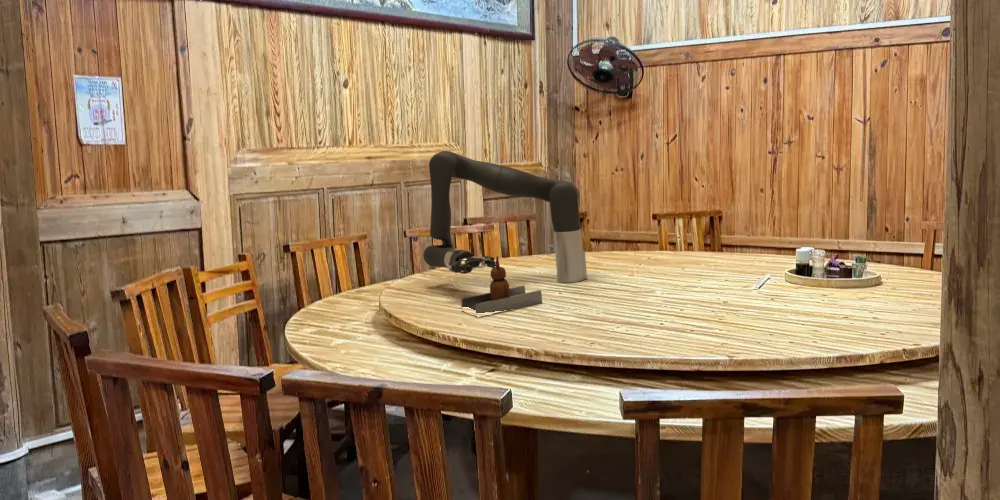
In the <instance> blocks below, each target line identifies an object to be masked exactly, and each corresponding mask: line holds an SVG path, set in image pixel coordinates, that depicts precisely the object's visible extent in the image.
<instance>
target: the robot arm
mask: <svg viewBox="0 0 1000 500" xmlns="http://www.w3.org/2000/svg"><path fill="white" fill-rule="evenodd" d="M428 170H429V178H430V188H431V190H430V191H431V209H430V210H431V211H430V226H429V235H430V238H432V239H434V240H438V241H441V244H437V245H434V244H432V245H428V246H427V247H425V249H424V251H423V255H422V256H423V261H425V263H426V264H427V265H428V266H430V267H439V268H445V269H448V270H449V271H450V272H453V273H456V274H457V273H460V274H463V275H464V274H469V273H470V274H471V273H472V271H473V270H476V269H484V268H485V267H488V268H490V269H492V268H494V267H496V260H495V257H493V256H488V255H482V256H475V255H474V254H473V252H471V251H469V250H465V249H461V248H454V247H453V243H452V236H451V226H452V209H451V208H452V207H451V202H450V199H451V198H450V191H451V183H452V178H455V179H459V180H464V181H465V180H466V181H469V182H471V183H475V184H476V185H478V186H481V187H482V188H484V189H487V190H489V191H491V192H495V193H498V194H502V195H506V196H512V197H520V198H533V199H536V200H541V201H545V202H547V203H549V208H550V217H551V224H552V230H553V243H554V253H555V254H554V255H555V263H556V265H555V266H556V277H557V278H556V279H557V282H559V283H577V282H580V281H583V280H585V279H588V272H587V257H586V251H585V250H584V249H583V241H582V228H581V220H580V219H581V218H580V210H579V198H580V196H579V195H580V194H579V189H578V188H577V186H576V185H575V184H574V183H572V182H570V181H568V180H567V181H566V180H559V179H552V178H546V177H541V176H537V175H535V174H531V173H530V172H526V171H523V170H519V169H517V168H513V167H510V166H506V165H501V164H496V163H492V162H486V161H481V160H480V161H479V160H476V159H473V158H469V157H467V156H463V155H460V154H458V153H455V152H453V151H450V150H442V151H439V152H438V153H435V154H433V155H432V157H431V158H430V160H429V163H428Z"/></svg>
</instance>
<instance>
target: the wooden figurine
mask: <svg viewBox="0 0 1000 500" xmlns="http://www.w3.org/2000/svg"><path fill="white" fill-rule="evenodd" d="M495 258H496V259H495V265H496V266H495V267H494V268H490V278H491V279H492V280H491V282H490V286H489V293H490V295H491V298H492V300H496V299H501V298H506V297H509V296H510V288H511V287H510V283H509V281H508V280H507V279H506V277H507V273H506V269H505V268H504V267H502V266H500V261H499V260H500V259H499V256H496V257H495Z"/></svg>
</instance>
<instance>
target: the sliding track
mask: <svg viewBox="0 0 1000 500" xmlns="http://www.w3.org/2000/svg"><path fill="white" fill-rule="evenodd" d="M509 288H510V296H509V297H506V298H501V299H496V300H492V298H491V295H490V292H486V293H481V294H476V295H471V296H467V297H466V296H465V297H462V298H460V306H461V308H462V307H469V308H471V309H473V310H476V313H485V312H495V311H504V310H511V309H515V310H519V309H523V308H527V307H532V306H536V305H540V304H541V305H542V304H543V294H542V290H540V289H538V290H536V291H530V292H526V286H525V285H519V286H513V287H509ZM511 311H512V310H511Z"/></svg>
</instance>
